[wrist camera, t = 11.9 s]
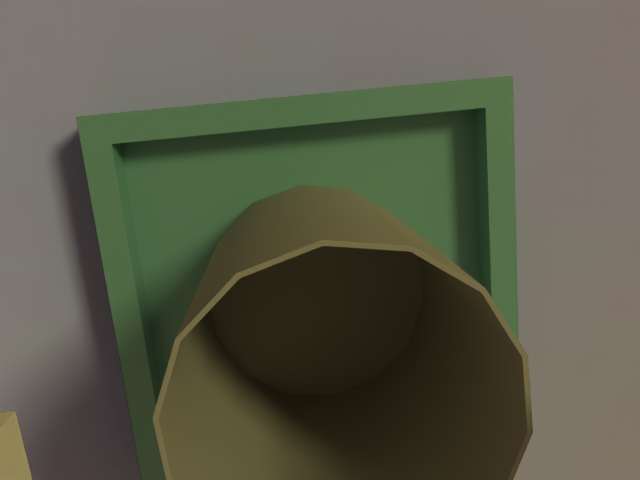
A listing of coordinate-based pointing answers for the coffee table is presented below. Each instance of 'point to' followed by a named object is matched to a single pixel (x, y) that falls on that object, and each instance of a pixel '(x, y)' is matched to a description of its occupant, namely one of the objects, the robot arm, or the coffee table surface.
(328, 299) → the cup
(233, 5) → the coffee table surface
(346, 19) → the coffee table surface
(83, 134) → the tray
